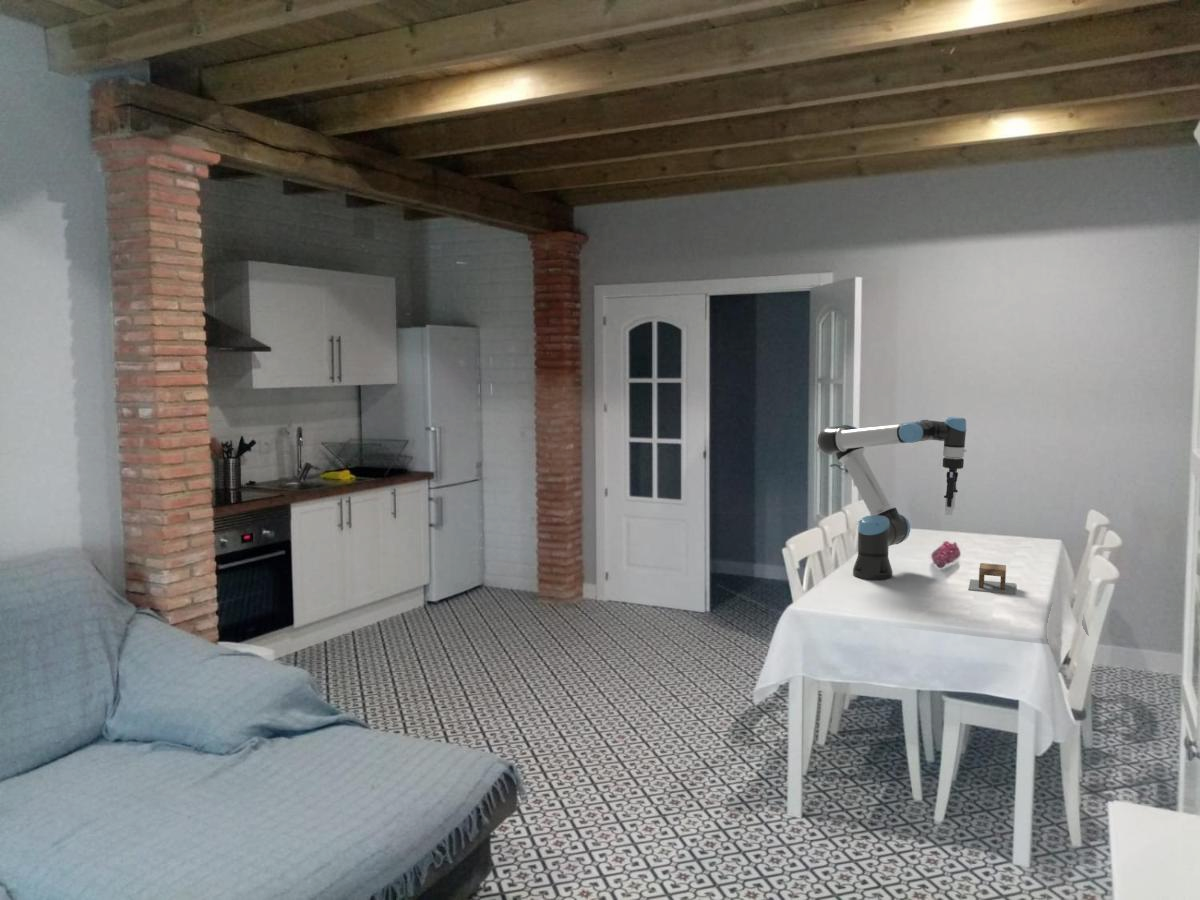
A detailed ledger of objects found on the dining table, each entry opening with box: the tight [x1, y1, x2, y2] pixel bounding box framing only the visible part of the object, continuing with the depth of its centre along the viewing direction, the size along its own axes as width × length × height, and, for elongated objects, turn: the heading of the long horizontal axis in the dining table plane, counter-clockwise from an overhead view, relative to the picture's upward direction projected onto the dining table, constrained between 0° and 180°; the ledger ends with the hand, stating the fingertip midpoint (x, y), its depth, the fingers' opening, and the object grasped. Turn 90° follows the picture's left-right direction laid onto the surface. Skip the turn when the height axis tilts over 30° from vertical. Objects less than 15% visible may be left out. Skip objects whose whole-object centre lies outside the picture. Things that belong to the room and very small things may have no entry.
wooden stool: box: [978, 562, 1007, 590], centre depth 345 cm, size 9×9×8 cm
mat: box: [968, 579, 1017, 595], centre depth 345 cm, size 16×16×1 cm
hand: (949, 512), depth 354 cm, fingers open, 13 cm apart
